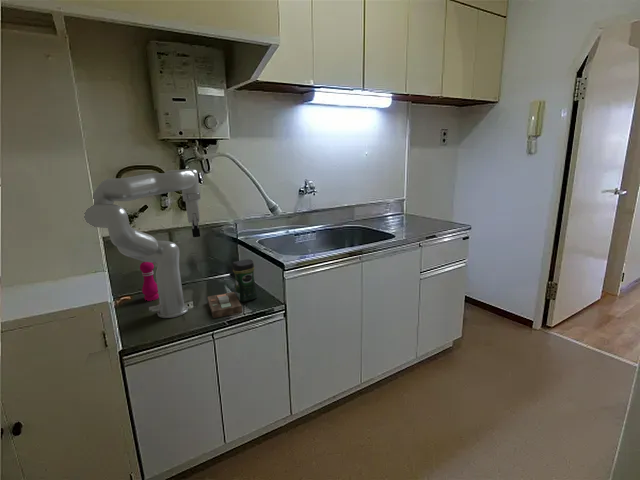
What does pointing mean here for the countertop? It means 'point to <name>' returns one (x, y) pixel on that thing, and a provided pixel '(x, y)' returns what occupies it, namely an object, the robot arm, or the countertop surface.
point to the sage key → (225, 305)
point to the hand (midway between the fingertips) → (196, 236)
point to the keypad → (216, 307)
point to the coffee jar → (244, 280)
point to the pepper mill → (149, 282)
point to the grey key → (223, 299)
